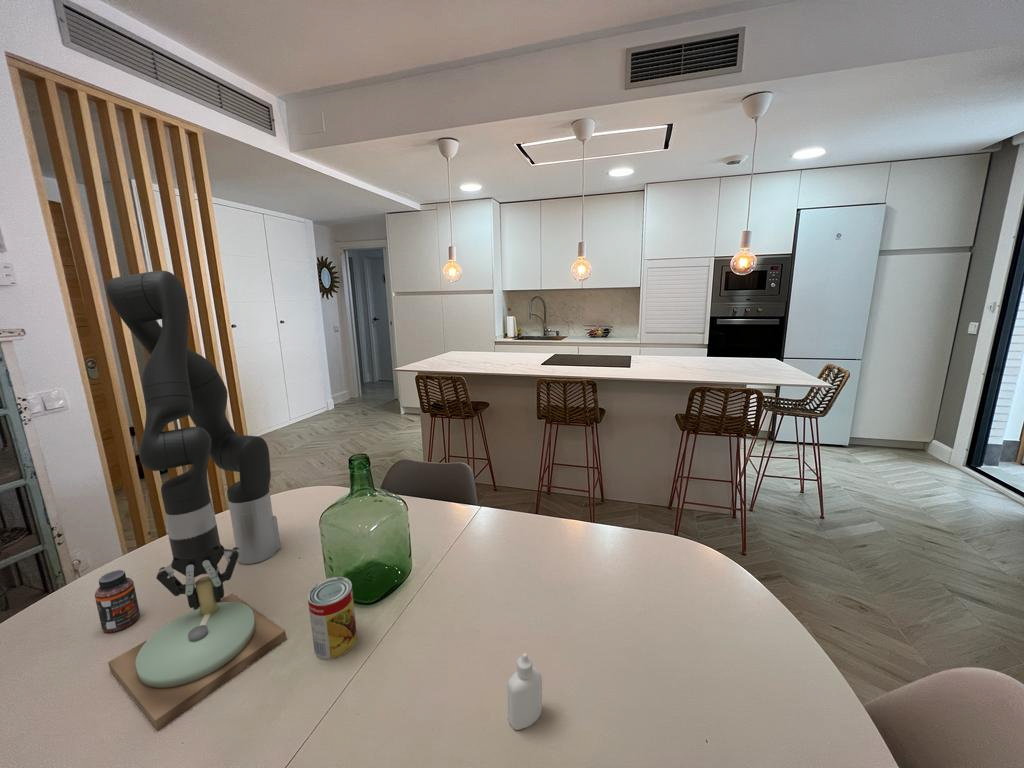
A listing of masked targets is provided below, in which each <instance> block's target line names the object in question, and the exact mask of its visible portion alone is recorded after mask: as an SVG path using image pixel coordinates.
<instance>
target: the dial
mask: <svg viewBox="0 0 1024 768" xmlns="http://www.w3.org/2000/svg"><path fill="white" fill-rule="evenodd" d="M194 586H195V588H196V592H197V597H198V603H199V609H196V610H194V609H192V610H190V611H188V612H186V613H184V614H182V615H180V616H178V617H176V618H175V619H173V620H171V621H170V622H169V623H166V624H165V625H164V626H162V627H161V628H160V629H158V630H157V631H155V633H153V634H152V635H151V636H150V637H149V638H148V639H147V640H146V643H145V644H144V645H143V646H142V648H141V649H140V651H139V653H138V655H137V658H136V669H137V673H138V677H139V679H140V681H141V682H142V683H143V684H145V685H147V686H150V687H154V688H168V687H175V686H179V685H183V684H186V683H189V682H192V681H195V680H197V679H200V678H202V677H204V676H206V675H208V674H210V673H212V672H214V671H216V670H217V669H219V668H220V667H222V666H224V665H225V664H226V663H228V662H229V661H230V660H232V659H233V658H234V657H235V656H236V655H238V654H239V653H240V652H241V651H242V650H243V648H244V647H245V646H246V645H247V644H248V642H249V641H250V639H251V637H252V635H253V633H254V630H255V620H254V614H253V611H252V610H251V608H250V607H249V606H247V605H245V604H242V603H238V602H222V603H216V598H215V593H214V584H213V582H212V580H211V579H210V578H209V576H208V575H205V576H203V577H201V578H199V579H197V580H195V585H194Z"/></svg>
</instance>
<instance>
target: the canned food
mask: <svg viewBox="0 0 1024 768" xmlns="http://www.w3.org/2000/svg"><path fill="white" fill-rule="evenodd" d="M353 592H354V591H353V583H352V581H351V580H350V579H349V578H347V577H344V576H335V577H334V576H333V577H328V578H326V579H325V578H324V579H323V580H321V581H319V582H318V583H316V584H315V585H313V586H312V587H311V588H310V589H309V591H308V594H307V601H308V602H307V604H308V611H309V619H310V620H309V621H310V627H311V636H312V641H313V642H312V643H313V644H312V645H313V649H314V654H315V655H316V656H315V657H317V658H319V659H321V660H325V661H327V660H330V661H332V660H334V659H337V658H340V656H341V657H343V656H344V655H346V654H347V653H349V652H350V651H351V650H352V649H353V647H354V646H355V645H356V642H357V640H358V632H357V623H356V614H355V613H356V612H355V602H354V593H353Z"/></svg>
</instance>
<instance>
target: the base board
mask: <svg viewBox="0 0 1024 768" xmlns="http://www.w3.org/2000/svg"><path fill="white" fill-rule="evenodd" d="M222 602H238V603H242V604H245V605H247V606H249V607H250V608H251V610H252V611H253V614H254V620H255V630H254V633H253V635H252V637H251V639H250V641H249V642H248V644H247V645H246V646H245V647H244V648H243V650H242V651H241V652H240V653H239V654H238V655H236V656H235V657H234V658H233V659H232V660H230V661H229V662H228V663H226V664H225V665H224V666H222V667H220V668H219V669H217V670H216V671H214V672H212V673H210V674H208V675H206V676H204V677H202V678H200V679H197V680H195V681H192V682H189V683H186V684H183V685H179V686H175V687H168V688H154V687H150V686H147V685H145V684H143V683H142V682H141V681H140V679H139V677H138V673H137V669H136V658H137V655H138V653H139V651H140V649H141V648H142V646H143V645H144V644H145V643H146V641H147V640H146V641H144V642H141V643H139V644H138V645H136V646H134V647H132V648H131V649H128V650H127V651H125V652H123V653H122V654H120V655H118V656H116V657H114V658H112V659H111V660H109V661H107V664H108V667H109V671H110V673H111V674H112V675H113V677H114V678H115V679H116V681H118V683H119V684H120V685H121V687H122V688H123V689H124V691H125V693H127V694H128V695H129V697H130V698H131V700H133V702H134V703H135V705H136V707H138V708H139V710H140V711H141V712H142V713H143V714H144V716H145V718H147V719H148V721H149V722H150V723H151V724H152V726H153V727H154V728H155V730H156V731H157V732H158V731H160V730H161V729H162V728H163V727H165V726H166V725H168V724H169V723H171V722H172V721H173V720H175V719H176V718H178V717H179V716H180V715H181V714H183V713H185V712H186V711H187V710H189V709H190V708H192V707H193V706H194V705H196V704H197V703H198V702H200V701H201V700H202V699H204V698H206V697H207V696H208V695H210V694H211V693H212V692H214V691H216V690H217V689H218V688H220V687H221V686H222V685H224V684H225V683H226V682H228V681H230V680H231V679H232V678H234V677H235V676H237V675H238V674H240V673H241V672H242V671H243V670H245V669H246V668H247V667H250V666H251V665H252V664H253V663H255V662H257V660H260V659H261V658H262V657H264V655H266V654H268V653H269V652H270V651H272V650H273V649H275V648H276V647H277V646H279V645H280V644H281V643H283V642H284V641H285V640H287V634H286V633H287V632H286V629H284V628H283V627H281V626H280V625H278V624H277V623H276V622H274V621H272V620H271V619H269V617H267V616H266V615H264V614H263V613H261V612H260V611H258V610H257V609H255V608H254V607H252V606H251V605H249V604H248V603H247V602H245V601H244V600H242V599H241V598H240V597H239V596H237V595H235V594H234V593H230V594H227V595H226V596H224V597H223V598H221V602H218V603H222Z"/></svg>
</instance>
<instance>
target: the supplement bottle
mask: <svg viewBox="0 0 1024 768" xmlns="http://www.w3.org/2000/svg"><path fill="white" fill-rule="evenodd" d="M98 586H99V587H98V588H97V589H96V590H95V593H94V598H95V605H96V607H97V613H98V618H99V622H100V626H101V629H102V631H103V632H105V633H114V632H118V631H122V630H124V629H126V628H127V627H130V626H131V625H133V624H134V623H136V621H137V620H139V617H141V616H140V607H139V602H138V598H137V592H136V588H135V583H134V580H133V579H132V578H131V577H127V576H126V571H125V570H123V569H118V570H114V571H110V572H106V573H105V574H103V575H102V576H101V577H99V578H98Z"/></svg>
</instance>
